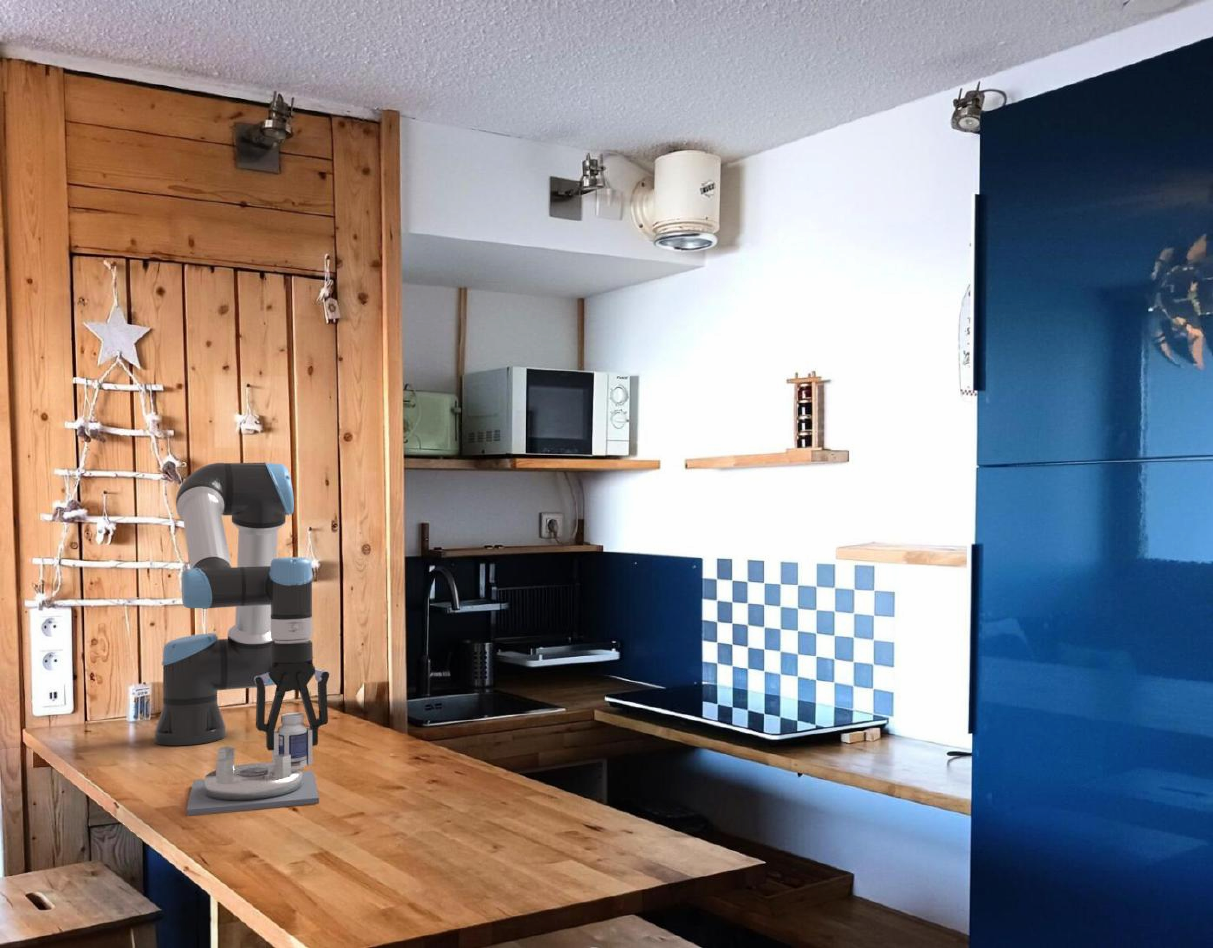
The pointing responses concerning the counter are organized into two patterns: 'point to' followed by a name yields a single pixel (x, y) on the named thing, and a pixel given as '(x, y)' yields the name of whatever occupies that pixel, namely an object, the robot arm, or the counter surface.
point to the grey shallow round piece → (251, 778)
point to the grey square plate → (208, 805)
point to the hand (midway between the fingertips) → (292, 765)
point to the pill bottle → (293, 739)
